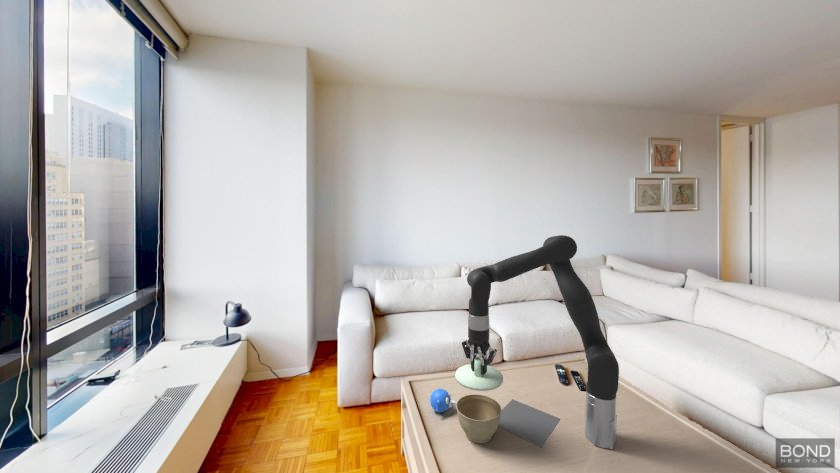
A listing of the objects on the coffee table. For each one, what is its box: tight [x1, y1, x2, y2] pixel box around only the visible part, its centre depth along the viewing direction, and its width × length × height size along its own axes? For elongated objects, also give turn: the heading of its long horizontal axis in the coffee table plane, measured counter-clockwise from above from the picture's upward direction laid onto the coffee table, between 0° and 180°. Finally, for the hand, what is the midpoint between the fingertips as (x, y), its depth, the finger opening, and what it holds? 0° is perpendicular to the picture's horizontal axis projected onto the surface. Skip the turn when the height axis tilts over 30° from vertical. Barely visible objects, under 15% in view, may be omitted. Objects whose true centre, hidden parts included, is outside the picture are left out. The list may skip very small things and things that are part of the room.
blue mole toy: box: [429, 388, 457, 413], centre depth 130 cm, size 12×12×8 cm
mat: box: [498, 399, 561, 448], centre depth 123 cm, size 20×20×1 cm
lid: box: [454, 356, 504, 392], centre depth 114 cm, size 17×17×7 cm
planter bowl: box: [455, 393, 502, 444], centre depth 115 cm, size 16×16×11 cm
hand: (478, 372), depth 114 cm, fingers closed on lid, 3 cm apart
